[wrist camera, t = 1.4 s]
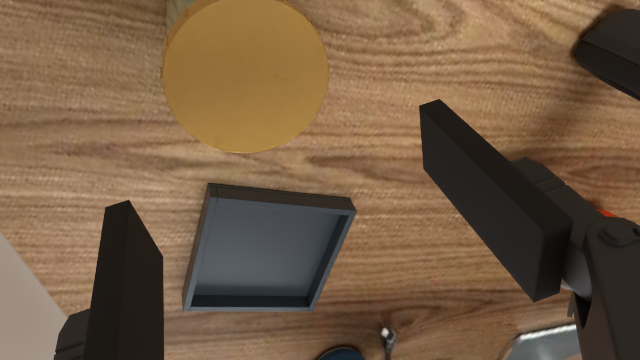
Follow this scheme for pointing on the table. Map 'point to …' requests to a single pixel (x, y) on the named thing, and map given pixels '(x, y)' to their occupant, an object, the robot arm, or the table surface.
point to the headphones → (613, 55)
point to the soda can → (342, 354)
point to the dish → (264, 249)
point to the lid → (244, 73)
